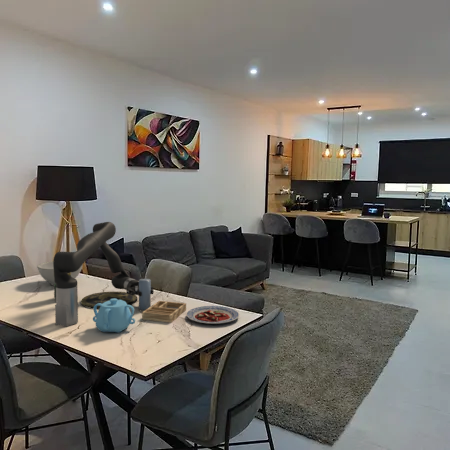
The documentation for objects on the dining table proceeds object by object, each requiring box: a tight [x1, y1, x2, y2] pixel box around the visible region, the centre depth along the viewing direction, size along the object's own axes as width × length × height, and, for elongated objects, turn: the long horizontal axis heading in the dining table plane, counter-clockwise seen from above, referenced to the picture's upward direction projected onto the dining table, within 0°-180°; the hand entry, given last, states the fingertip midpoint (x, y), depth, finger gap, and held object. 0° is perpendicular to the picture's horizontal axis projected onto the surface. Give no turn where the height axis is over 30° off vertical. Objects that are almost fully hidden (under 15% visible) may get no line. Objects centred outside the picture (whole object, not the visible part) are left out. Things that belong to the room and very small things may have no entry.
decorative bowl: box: [36, 260, 84, 286], centre depth 260 cm, size 27×27×12 cm
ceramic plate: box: [186, 305, 240, 325], centre depth 200 cm, size 26×26×3 cm
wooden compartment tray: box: [141, 300, 187, 324], centre depth 203 cm, size 20×15×4 cm
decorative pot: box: [92, 298, 136, 333], centre depth 182 cm, size 16×16×14 cm
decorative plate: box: [80, 291, 138, 310], centre depth 225 cm, size 30×2×30 cm
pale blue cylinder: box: [138, 278, 152, 311], centre depth 212 cm, size 6×6×15 cm
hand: (146, 293), depth 210 cm, fingers closed on pale blue cylinder, 6 cm apart
